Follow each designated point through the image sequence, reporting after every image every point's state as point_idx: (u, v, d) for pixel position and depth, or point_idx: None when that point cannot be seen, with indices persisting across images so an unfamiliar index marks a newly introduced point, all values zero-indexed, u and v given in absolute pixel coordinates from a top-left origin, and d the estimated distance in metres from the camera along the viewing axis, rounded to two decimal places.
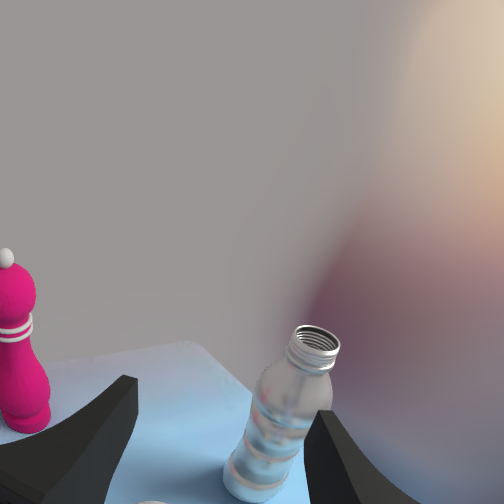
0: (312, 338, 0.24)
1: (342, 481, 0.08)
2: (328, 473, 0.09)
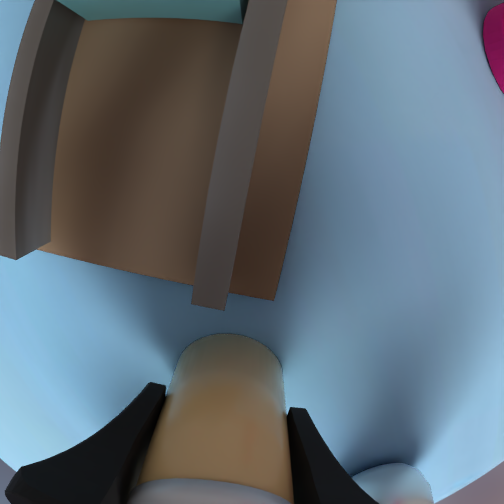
0: None
1: (307, 481, 0.08)
2: (296, 473, 0.09)
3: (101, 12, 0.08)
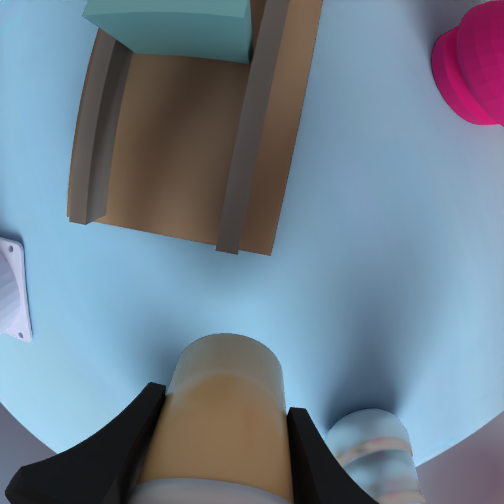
0: None
1: (307, 481, 0.08)
2: (296, 473, 0.09)
3: (149, 50, 0.13)
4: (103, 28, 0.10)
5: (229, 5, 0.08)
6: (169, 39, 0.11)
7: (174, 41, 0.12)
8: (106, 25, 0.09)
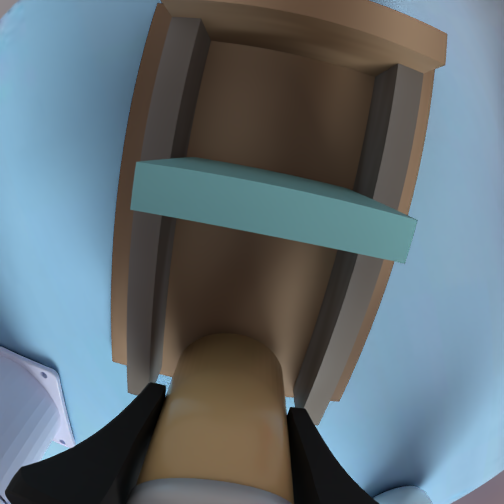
0: None
1: (307, 481, 0.08)
2: (296, 473, 0.09)
3: None
4: None
5: (389, 239, 0.07)
6: None
7: None
8: None
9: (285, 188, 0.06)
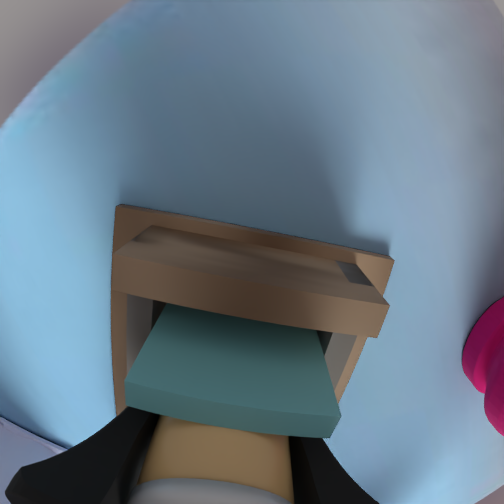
0: None
1: (307, 481, 0.08)
2: (296, 473, 0.09)
3: None
4: None
5: (316, 427, 0.08)
6: None
7: None
8: None
9: (235, 405, 0.08)
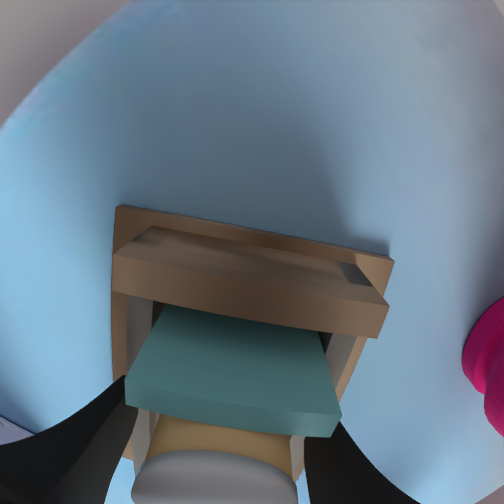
0: None
1: (342, 481, 0.08)
2: (328, 474, 0.09)
3: None
4: None
5: (317, 426, 0.08)
6: None
7: None
8: None
9: (235, 404, 0.08)
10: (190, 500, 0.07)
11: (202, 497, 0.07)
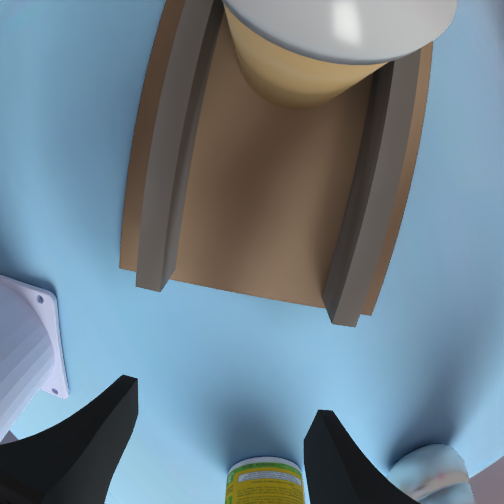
0: None
1: (342, 481, 0.08)
2: (328, 474, 0.09)
3: None
4: None
5: None
6: None
7: None
8: None
9: None
10: None
11: None
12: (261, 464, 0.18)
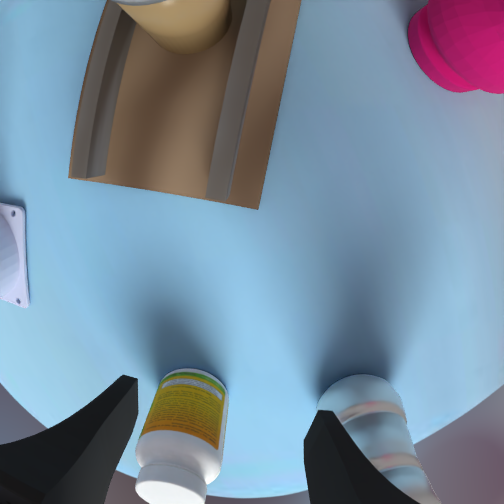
0: None
1: (342, 481, 0.08)
2: (328, 473, 0.09)
3: None
4: None
5: None
6: None
7: None
8: None
9: None
10: None
11: None
12: (184, 373, 0.21)
